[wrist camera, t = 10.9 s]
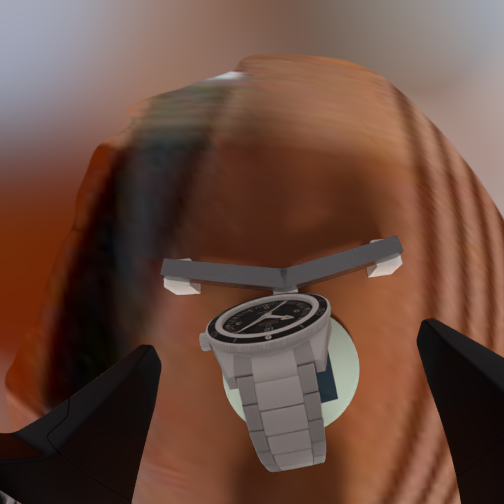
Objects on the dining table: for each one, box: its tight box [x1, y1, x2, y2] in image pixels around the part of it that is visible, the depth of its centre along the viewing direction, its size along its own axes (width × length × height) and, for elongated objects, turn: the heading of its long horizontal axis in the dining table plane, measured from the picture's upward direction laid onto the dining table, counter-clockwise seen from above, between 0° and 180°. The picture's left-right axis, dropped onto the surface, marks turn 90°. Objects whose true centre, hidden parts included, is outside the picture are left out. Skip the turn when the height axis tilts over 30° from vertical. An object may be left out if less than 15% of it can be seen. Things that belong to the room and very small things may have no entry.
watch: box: [199, 292, 338, 472], centre depth 12 cm, size 6×8×11 cm
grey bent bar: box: [160, 235, 403, 292], centre depth 17 cm, size 16×3×1 cm, turn 93°
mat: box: [223, 317, 359, 427], centre depth 17 cm, size 10×10×1 cm
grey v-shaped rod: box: [164, 239, 402, 295], centre depth 19 cm, size 17×3×2 cm, turn 93°
